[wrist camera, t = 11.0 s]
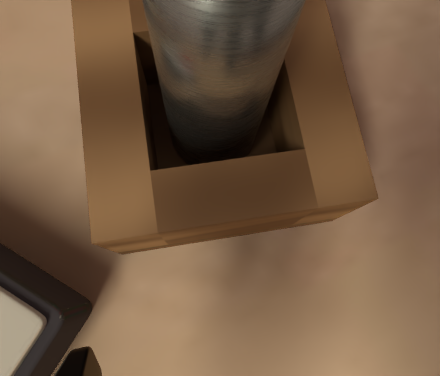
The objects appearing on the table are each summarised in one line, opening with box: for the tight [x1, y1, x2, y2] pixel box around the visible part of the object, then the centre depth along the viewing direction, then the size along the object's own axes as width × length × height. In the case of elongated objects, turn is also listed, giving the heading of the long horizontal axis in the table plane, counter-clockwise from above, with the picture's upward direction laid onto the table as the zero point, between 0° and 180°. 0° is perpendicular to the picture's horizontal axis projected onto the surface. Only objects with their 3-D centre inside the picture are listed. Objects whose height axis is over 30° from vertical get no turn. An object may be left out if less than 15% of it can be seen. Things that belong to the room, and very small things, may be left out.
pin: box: [142, 0, 306, 165], centre depth 12 cm, size 4×4×12 cm
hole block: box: [71, 0, 378, 254], centre depth 17 cm, size 10×10×5 cm
